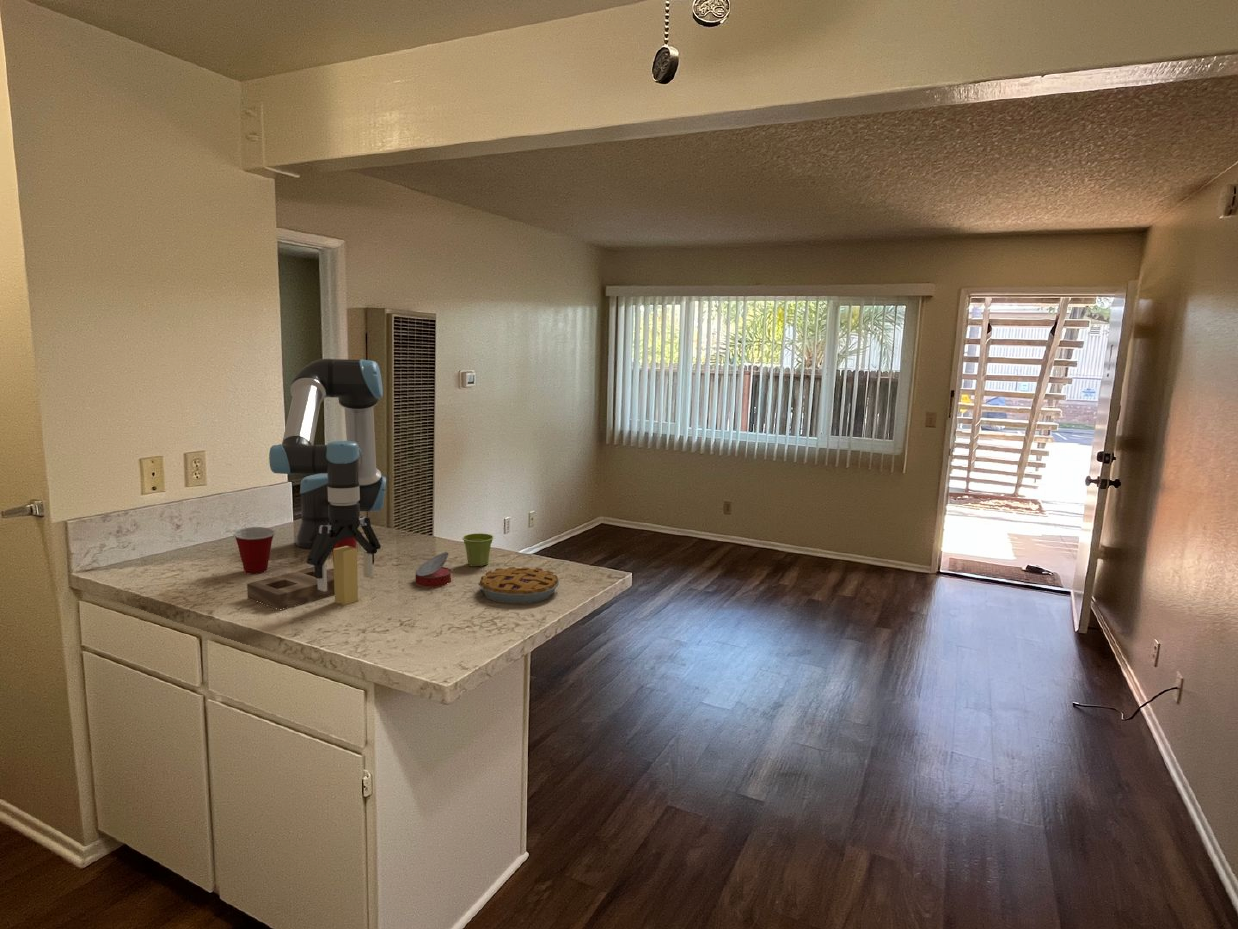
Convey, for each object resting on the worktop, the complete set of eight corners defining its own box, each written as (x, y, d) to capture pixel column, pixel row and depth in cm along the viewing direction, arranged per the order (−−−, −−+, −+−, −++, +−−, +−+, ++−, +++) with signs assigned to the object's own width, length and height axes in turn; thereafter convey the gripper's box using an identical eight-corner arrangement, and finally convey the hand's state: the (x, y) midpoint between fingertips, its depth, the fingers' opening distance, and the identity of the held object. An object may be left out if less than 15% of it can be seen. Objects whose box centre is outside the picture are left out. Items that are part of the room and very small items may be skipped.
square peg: (348, 597, 185) (346, 545, 183) (357, 600, 183) (356, 548, 181) (334, 601, 182) (333, 549, 180) (344, 605, 180) (343, 551, 178)
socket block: (317, 579, 199) (316, 566, 198) (349, 589, 191) (348, 575, 191) (247, 598, 182) (247, 583, 182) (279, 610, 175) (278, 594, 174)
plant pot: (490, 569, 214) (490, 541, 213) (459, 568, 214) (459, 540, 213) (496, 560, 223) (496, 533, 222) (466, 559, 223) (466, 532, 222)
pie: (467, 602, 185) (467, 584, 184) (493, 578, 206) (493, 561, 206) (548, 609, 182) (549, 590, 181) (566, 583, 204) (567, 566, 203)
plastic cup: (246, 579, 197) (244, 537, 195) (228, 571, 203) (226, 531, 202) (284, 571, 206) (282, 531, 204) (265, 563, 212) (264, 524, 210)
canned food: (443, 602, 198) (439, 577, 192) (410, 594, 200) (405, 569, 194) (460, 573, 207) (456, 549, 201) (428, 567, 209) (424, 542, 203)
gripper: (375, 493, 191) (376, 569, 194) (289, 508, 170) (292, 592, 174) (393, 497, 187) (394, 574, 190) (308, 512, 166) (311, 599, 170)
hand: (345, 583), depth 182 cm, fingers open, 13 cm apart
